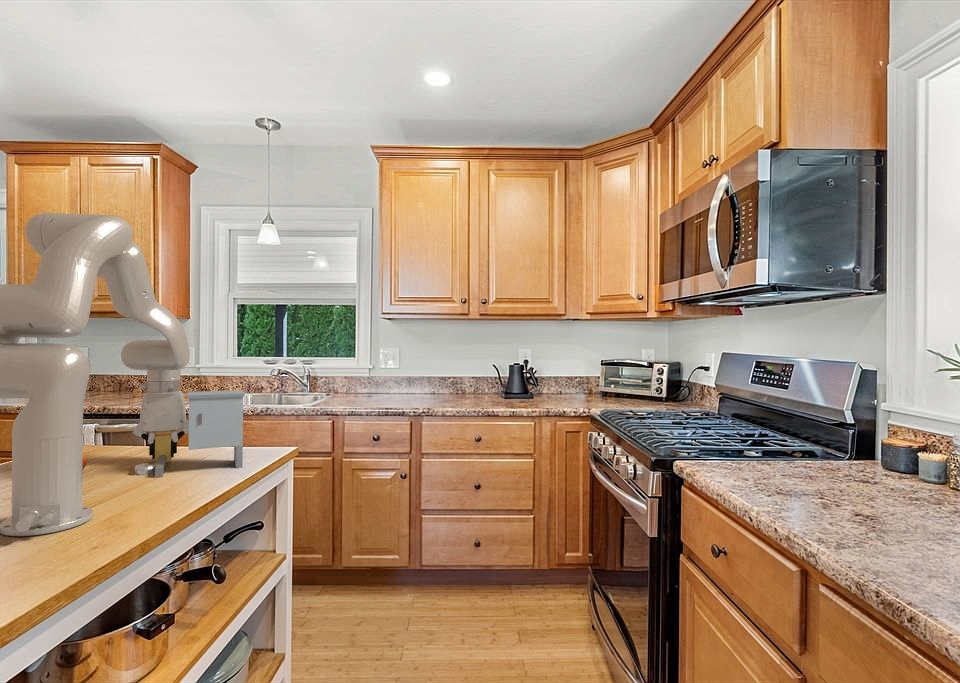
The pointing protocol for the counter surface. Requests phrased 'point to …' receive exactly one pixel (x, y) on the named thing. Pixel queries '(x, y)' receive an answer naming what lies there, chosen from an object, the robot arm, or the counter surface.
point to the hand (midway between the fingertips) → (163, 456)
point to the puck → (145, 468)
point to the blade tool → (162, 452)
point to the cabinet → (217, 421)
